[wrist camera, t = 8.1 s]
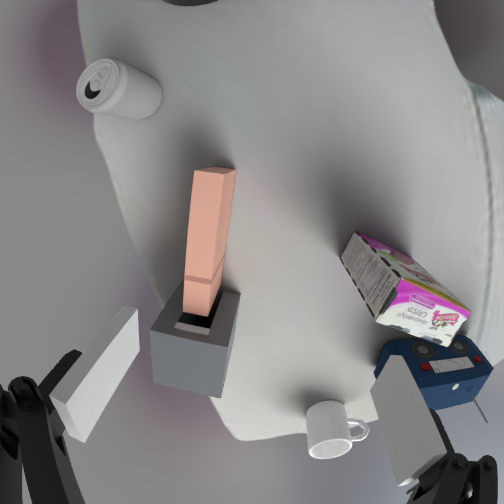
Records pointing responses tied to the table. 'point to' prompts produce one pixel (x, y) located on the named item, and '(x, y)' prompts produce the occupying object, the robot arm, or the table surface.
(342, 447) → the mug
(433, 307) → the candy bar box
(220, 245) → the tall pink prism
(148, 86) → the beverage can
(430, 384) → the radio
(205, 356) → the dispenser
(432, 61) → the table surface
